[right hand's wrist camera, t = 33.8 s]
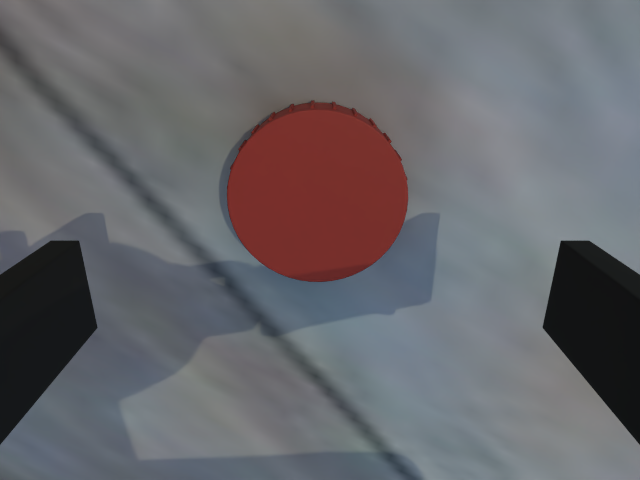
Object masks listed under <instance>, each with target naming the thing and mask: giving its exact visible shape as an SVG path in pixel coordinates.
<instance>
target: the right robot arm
mask: <svg viewBox="0 0 640 480" xmlns="http://www.w3.org/2000/svg"><path fill="white" fill-rule="evenodd" d="M96 329H97V324H96V319H95V314H94V309H93V305H92V300H91V295H90V290H89V286H88V281H87V276H86V271H85V267H84V262H83V257H82V252H81V248H80V243H79V241H50V242H48V243H47V244H45V245H44V246H42V247H41V248H39V249H38V250H36V251H35V252H33V253H32V254H30V255H29V256H27V257H26V258H25V259H23V260H22V261H20V262H19V263H17V264H16V265H14V266H13V267H11V268H10V269H8V270H7V271H5V272H4V273H2V274H1V275H0V444H1V443H2V442H3V441H4V439H5V438H6V437H7V436H8V435H9V433H10V432H11V431H12V430H13V429H14V427H15V426H16V425H17V424H18V423H19V421H20V420H21V419H22V418H23V417H24V415H25V414H26V413H27V412H28V411H29V409H30V408H31V407H32V406H33V405H34V403H35V402H36V401H37V400H38V399H39V397H40V396H41V395H42V394H43V393H44V391H45V390H46V389H47V388H48V386H49V385H50V384H51V383H52V382H53V380H54V379H55V378H56V377H57V376H58V374H59V373H60V372H61V371H62V370H63V368H64V367H65V366H66V365H67V364H68V362H69V361H70V360H71V359H72V358H73V356H74V355H75V354H76V353H77V352H78V350H79V349H80V348H81V347H82V346H83V344H84V343H85V342H86V341H87V340H88V338H89V337H90V336H91V335H92V333H93V332H94V331H95V330H96ZM543 329H544V330H545V331H546V332H547V333H548V335H549V336H550V337H551V338H552V340H553V341H554V342H555V343H556V344H557V346H558V347H559V348H560V349H561V350H562V352H563V353H564V354H565V355H566V356H567V358H568V359H569V360H570V361H571V362H572V364H573V365H574V366H575V367H576V368H577V370H578V371H579V372H580V373H581V374H582V376H583V377H584V378H585V379H586V380H587V382H588V383H589V384H590V385H591V386H592V388H593V389H594V390H595V391H596V393H597V394H598V395H599V396H600V397H601V399H602V400H603V401H604V402H605V403H606V405H607V406H608V407H609V408H610V409H611V411H612V412H613V413H614V414H615V415H616V417H617V418H618V419H619V420H620V421H621V423H622V424H623V425H624V426H625V427H626V429H627V430H628V431H629V432H630V433H631V435H632V436H633V437H634V438H635V439H636V441H637V442H638V443H639V444H640V275H639V274H638V273H636V272H635V271H633V270H632V269H630V268H629V267H627V266H626V265H624V264H623V263H621V262H620V261H618V260H617V259H615V258H614V257H613V256H611V255H610V254H608V253H607V252H605V251H604V250H602V249H601V248H599V247H598V246H596V245H595V244H593V243H592V242H590V241H561V243H560V248H559V252H558V257H557V262H556V267H555V271H554V276H553V281H552V286H551V290H550V295H549V300H548V305H547V309H546V314H545V319H544V324H543Z"/></svg>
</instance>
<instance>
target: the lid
mask: <svg viewBox="0 0 640 480" xmlns="http://www.w3.org/2000/svg"><path fill="white" fill-rule="evenodd" d="M251 133H252V135H251V137H250V138H249V139H248V141H246V140H245V141H244V142H243V144H242V145H241V146H240V148H239V149H238V150H239V151H240V152H239V154H238V156H237V157H236V159H235V161H234V163H233V164H232V166H231V168H230V169H231V172H230V176H229V181H228V186H227V203H228V210H229V215H230V219H231V222H232V225H233V227H234V229H235V231H236V233H237V235H238V237H239V239H240V240H241V242H242V243H243V245H244V246H245V247H246V249H247V250H248V251H249V252H250V253H251V254H252V255H253V256H254V257H255V258H256V259H257V260H258V261H259V262H261V263H262V264H264V265H265V266H266V267H268V268H269V269H271V270H273V271H275V272H277V273H279V274H281V275H284V276H287V277H289V278H293V279H297V280H302V281H309V282H325V281H333V280H338V279H343V278H346V277H349V276H352V275H354V274H356V273H358V272H360V271H363V270H364V269H366V268H367V267H369V266H371V265H372V264H373V263H375V262H376V261H377V260H378V259H379V258H381V257H382V256H383V255H384V253H385V252H386V251H387V250H388V249H389V248H390V246H391V245H392V244H393V242H394V241H395V239H396V238H397V236H398V234H399V232H400V230H401V228H402V225H403V222H404V219H405V215H406V211H407V204H408V186H407V177H406V175H405V172H404V169H403V166H402V164H401V160H402V159H401V157H400V156H399V154H398V153H397V152H396V150H394V149H393V147H392V146H391V144H390V143H391V140H390V139H389V138H388V136H387V135H386V133H382V132H381V131H380V130H379V129H378V128H377V127H376V125H375V123H374V122H373V120H372V119H371V118H370V119H369V120H368V119H367V118H365V117H364V116H362V115H361V114H359V113H357V112H356V110H355V109H354V108H352V110H351V109H349V108H346V107H343V106H339V105H336V103H335V102H332V104H329V103H314V100H313V101H311V103H305V104H300V105H296V106H294V104H291V105H290V107H289V108H287V109H284V110H282V111H280V112H278V113H276V114H275V112H273V113H272V114H271V116H270V117H269V118H268V119H267V120H266V121H265V122H263V123H262V124H261V125H260V126H259V125H257V126H256V127H255V128H254V130H253V131H252V132H251Z"/></svg>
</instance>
